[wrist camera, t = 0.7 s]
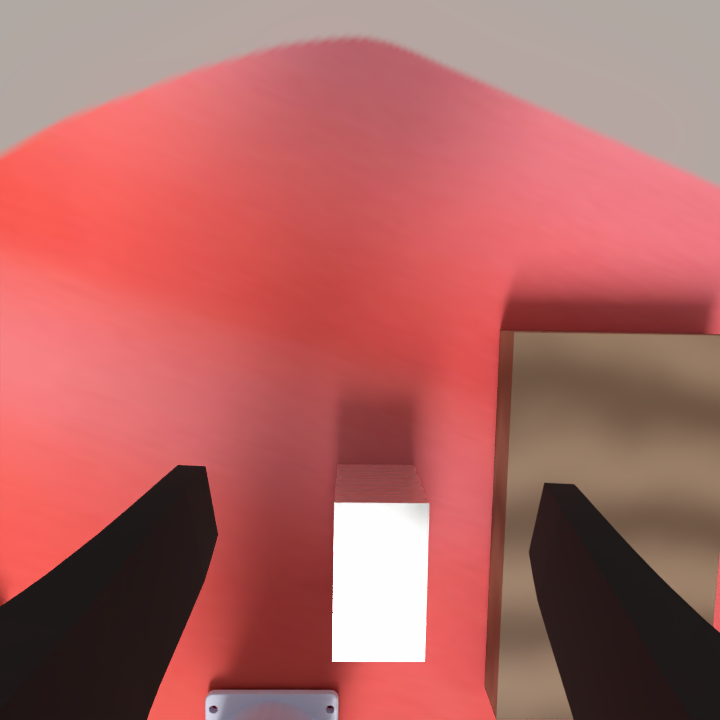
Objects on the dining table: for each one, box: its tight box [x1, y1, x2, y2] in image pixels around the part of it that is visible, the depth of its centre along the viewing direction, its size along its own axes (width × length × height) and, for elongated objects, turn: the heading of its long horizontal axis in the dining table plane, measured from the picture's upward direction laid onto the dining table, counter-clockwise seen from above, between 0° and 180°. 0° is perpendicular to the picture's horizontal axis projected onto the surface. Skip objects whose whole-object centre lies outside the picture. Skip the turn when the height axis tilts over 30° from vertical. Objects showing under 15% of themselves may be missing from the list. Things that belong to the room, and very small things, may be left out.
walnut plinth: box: [485, 330, 720, 720], centre depth 29 cm, size 22×12×2 cm, turn 179°
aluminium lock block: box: [332, 464, 429, 662], centre depth 27 cm, size 8×4×6 cm, turn 179°
